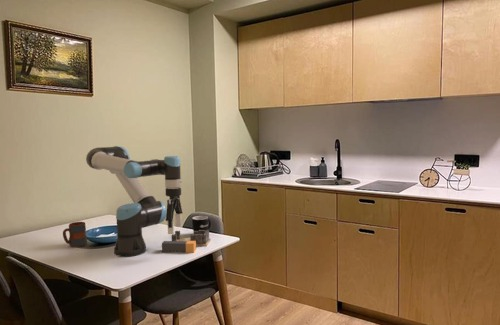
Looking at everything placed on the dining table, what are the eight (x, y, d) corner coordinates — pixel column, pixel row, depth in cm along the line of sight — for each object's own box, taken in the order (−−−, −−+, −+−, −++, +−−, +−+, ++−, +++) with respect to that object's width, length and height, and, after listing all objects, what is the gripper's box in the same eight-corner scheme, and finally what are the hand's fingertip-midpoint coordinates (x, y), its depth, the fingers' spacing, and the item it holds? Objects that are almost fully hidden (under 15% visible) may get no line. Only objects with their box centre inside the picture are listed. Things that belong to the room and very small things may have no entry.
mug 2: (199, 238, 208) (198, 220, 207) (189, 235, 214) (188, 217, 213) (215, 233, 217) (215, 216, 216) (205, 231, 223) (205, 214, 222)
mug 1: (59, 247, 195) (58, 225, 194) (81, 241, 204) (80, 220, 203) (68, 250, 190) (66, 227, 189) (90, 244, 199) (89, 222, 198)
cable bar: (161, 252, 185) (161, 243, 185) (164, 249, 190) (164, 240, 189) (193, 252, 184) (193, 243, 184) (195, 249, 189) (195, 240, 188)
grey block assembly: (170, 245, 195) (170, 234, 195) (175, 240, 205) (175, 229, 205) (206, 246, 194) (206, 235, 193) (210, 240, 204) (210, 229, 203)
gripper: (173, 191, 171) (175, 237, 173) (186, 183, 196) (188, 223, 198) (157, 191, 172) (159, 237, 174) (172, 184, 197) (174, 223, 199)
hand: (174, 230), depth 186 cm, fingers open, 13 cm apart
